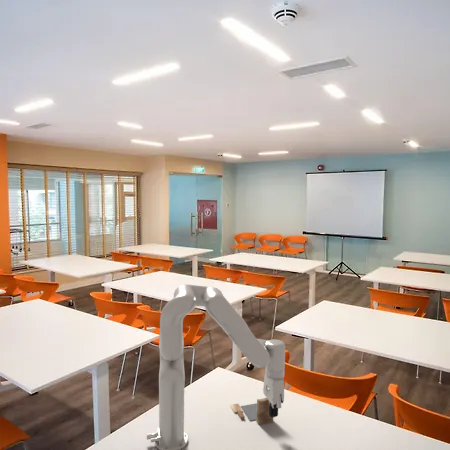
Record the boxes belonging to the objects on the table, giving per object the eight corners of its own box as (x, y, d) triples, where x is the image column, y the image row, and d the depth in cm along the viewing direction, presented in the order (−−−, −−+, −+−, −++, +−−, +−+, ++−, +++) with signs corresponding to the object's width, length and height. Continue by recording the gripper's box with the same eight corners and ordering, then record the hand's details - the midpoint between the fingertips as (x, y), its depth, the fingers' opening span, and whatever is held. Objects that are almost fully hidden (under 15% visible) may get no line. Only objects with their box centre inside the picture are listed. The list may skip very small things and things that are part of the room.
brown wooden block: (258, 424, 151) (258, 401, 150) (256, 421, 153) (257, 399, 152) (273, 421, 153) (273, 398, 152) (271, 418, 155) (272, 396, 154)
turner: (238, 420, 153) (238, 417, 153) (230, 406, 164) (230, 403, 164) (247, 418, 155) (247, 415, 155) (238, 404, 165) (238, 402, 165)
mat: (249, 421, 153) (250, 420, 153) (240, 406, 163) (240, 406, 163) (275, 416, 157) (275, 415, 157) (265, 402, 167) (265, 401, 167)
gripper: (258, 364, 149) (257, 406, 151) (274, 382, 135) (273, 428, 137) (275, 362, 152) (273, 403, 153) (292, 379, 138) (290, 425, 139)
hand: (273, 415), depth 145 cm, fingers closed
